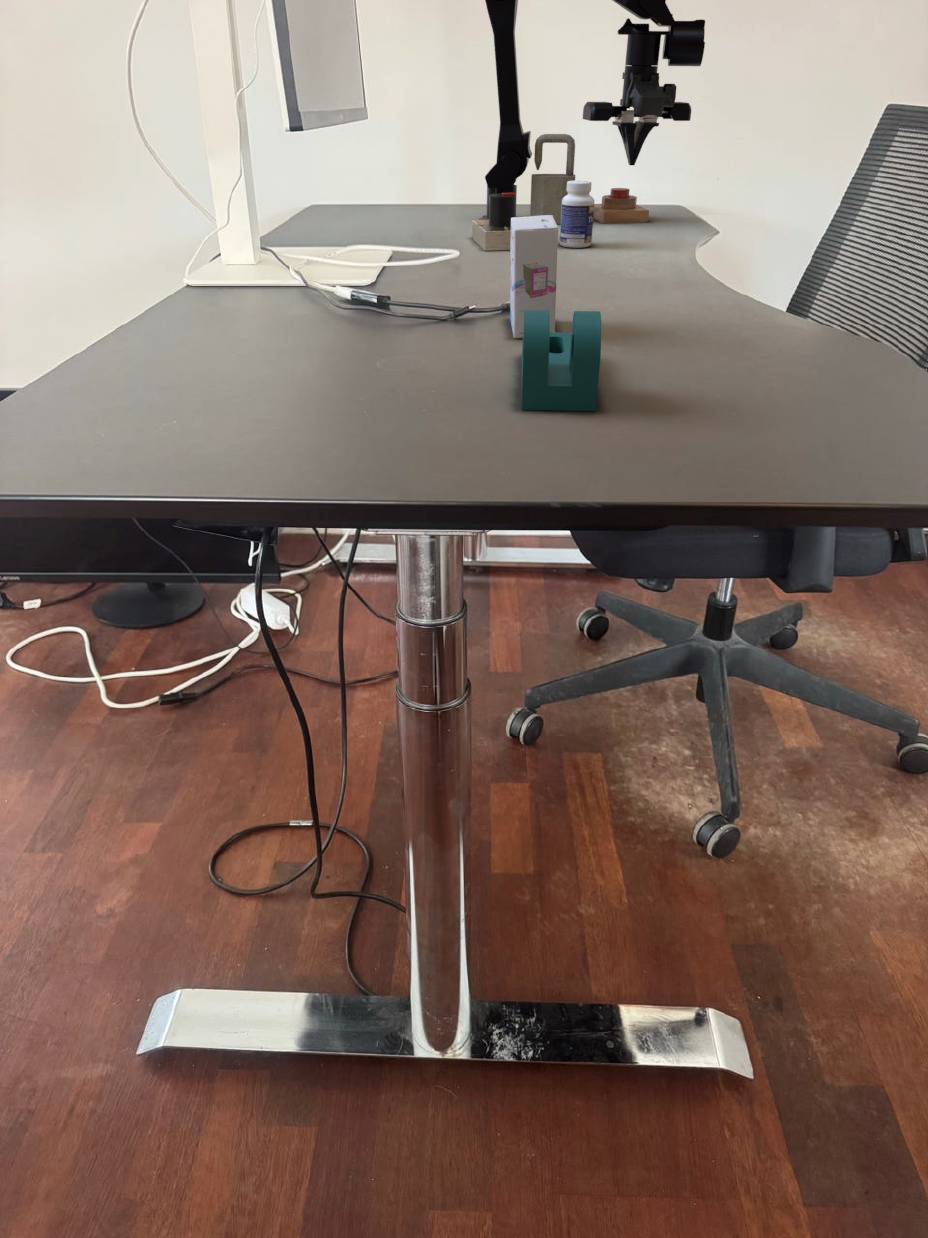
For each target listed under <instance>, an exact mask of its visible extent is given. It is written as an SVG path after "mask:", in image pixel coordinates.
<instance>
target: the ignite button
mask: <svg viewBox="0 0 928 1238" xmlns="http://www.w3.org/2000/svg"><path fill="white" fill-rule="evenodd" d="M630 191H631V190H630V188H627V187H613V188H612V187H611V188H610V194H609V195H610V198H629V195H630Z"/></svg>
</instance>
